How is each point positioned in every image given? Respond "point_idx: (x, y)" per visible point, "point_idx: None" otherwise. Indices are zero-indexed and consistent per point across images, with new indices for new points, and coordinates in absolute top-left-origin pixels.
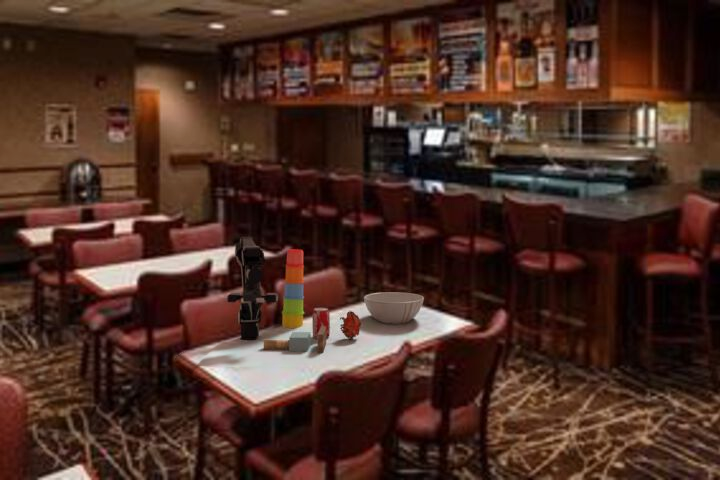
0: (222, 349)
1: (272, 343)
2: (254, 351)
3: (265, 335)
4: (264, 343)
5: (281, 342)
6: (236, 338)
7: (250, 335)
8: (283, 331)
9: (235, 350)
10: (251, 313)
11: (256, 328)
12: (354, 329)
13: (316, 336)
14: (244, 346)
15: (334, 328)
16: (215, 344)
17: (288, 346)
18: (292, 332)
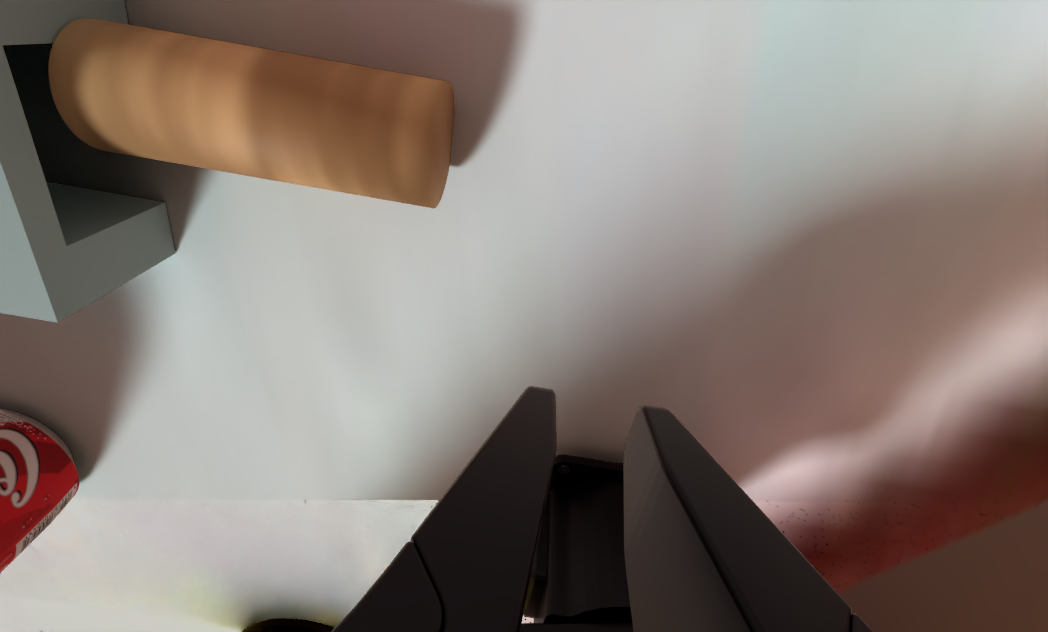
0: (954, 178)
1: (312, 70)
2: (570, 8)
3: None
4: (426, 90)
5: (177, 59)
6: None
7: (605, 495)
8: None
9: (808, 102)
10: (655, 585)
11: (544, 563)
12: None
13: (10, 425)
14: (675, 275)
15: (50, 628)
16: (956, 392)
17: (111, 22)
18: (47, 299)
